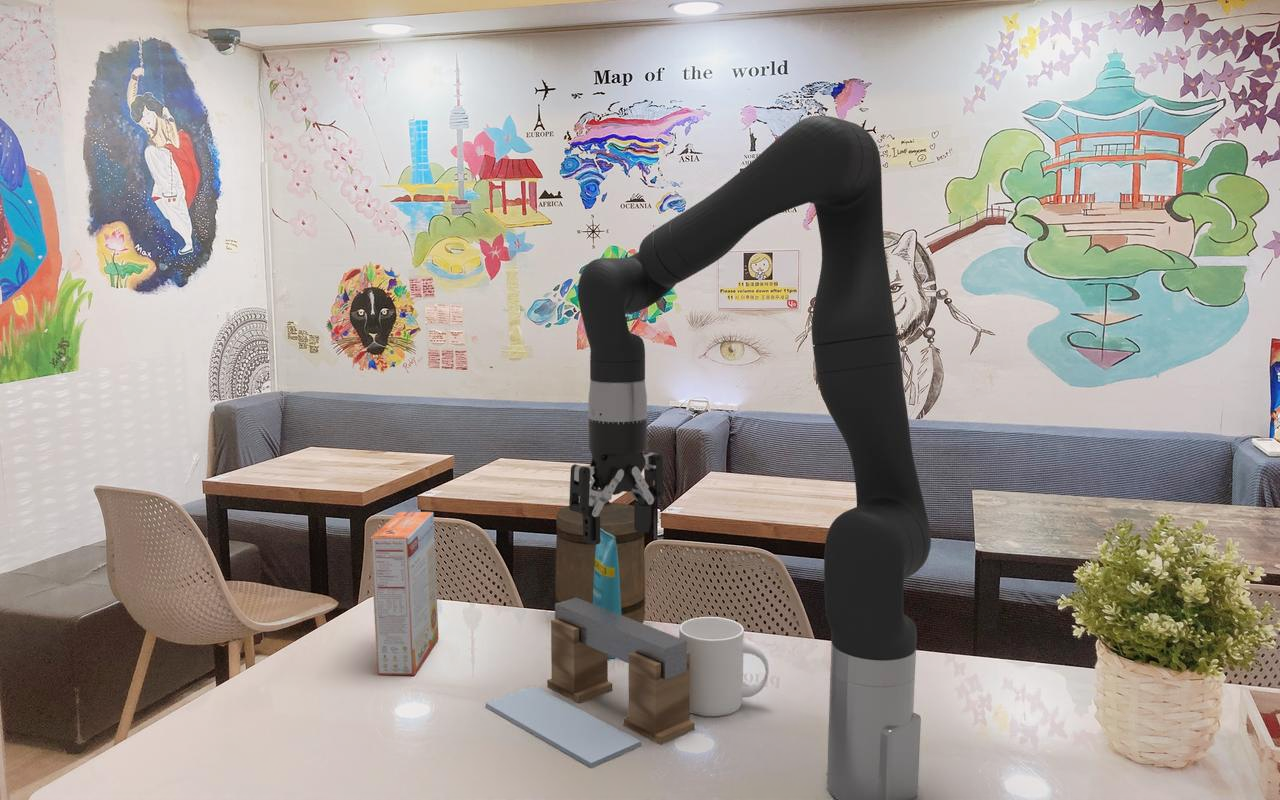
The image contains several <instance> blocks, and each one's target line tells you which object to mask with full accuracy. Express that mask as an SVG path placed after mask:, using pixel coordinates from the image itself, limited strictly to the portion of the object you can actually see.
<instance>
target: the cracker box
mask: <svg viewBox="0 0 1280 800" xmlns="http://www.w3.org/2000/svg"><path fill="white" fill-rule="evenodd" d="M434 519H435V518H434V512H433V511H399V512H397V513H396V514H395V515H393V517H392V518H391V519H389V521H387V522H386V523H385V524H384V525H383V526H382V527H380V528H379V530H377V531H376V532H375V533H374V534H373V535H371V536H370V538H369V539H370V553H371V556H370V559H371V573H372V575H371V577H372V592H373V593H372V594H373V595H372V596H373V614H374V633H375V648H376V649H375V650H376V668H377V669H376V670H377V675H378V676H379V675H381V676H416V674H417V673H418V671H419V669H420V668H421V666H422V665H423V663H424V662H425V660H426V659H427V657H428V655H430V653H431V652H432V649H433V648H434V647H435V644H436V643H437V642H438V641H439V621H438V620H439V619H438V617H439V616H438V615H439V614H438V595H437V594H438V593H437V591H438V590H437V569H436V566H437V565H436V546H435V545H436V541H435V539H436V538H435V523H434V522H435V520H434Z"/></svg>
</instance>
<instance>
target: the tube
mask: <svg viewBox="0 0 1280 800" xmlns="http://www.w3.org/2000/svg"><path fill="white" fill-rule="evenodd" d="M593 604H594V605H597V606H599V607H602V608H604V609H607V610H609V611H612V612H614V613H617V614H619V615H622V614H621V596H620V578H619V565H618V554H617V546H616V540H615V537H614V536H613V535H611V534H609V533H607V532H605V531H603V530H602V529H601V528H600V543H599V544H597V545H596V552H595V565H594V585H593ZM610 659H616V658H615V657H612V656H610V655H608V660H610Z"/></svg>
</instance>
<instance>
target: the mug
mask: <svg viewBox="0 0 1280 800" xmlns="http://www.w3.org/2000/svg"><path fill="white" fill-rule="evenodd" d="M678 627H679V632H678V633H679V634H678V635H679V636H678V638H681V639H683V640H686V641H687V652H689V653H690V707H689V713H692V714H694V715H697V716H702V717H711V718H712V717H723V716H727V715H730V714H732V713H734V712H736V711H737V710H739V709H740V707H741V706H742V704H743V698H750V697H754V696H755V695H757V694H759V693H760V692H761V691H762V690H763V689H764V688H765V687H766V684H767V682H768V678H769V673H770V672H769V670H770V669H769V667H770V666H769V662H768V661H769V660H768V658H767V656H766V654H765V652H764V651H763V650H762V649H761V648H760V647H759V646H758V645H757V644H755V643H754V642H752V641H751V640H749V639H747V638H746V637H744V636H745V635H744V634H745V631H744V630H745V629H744V627H743V625H742V624H741V623H740V622H738V621H735V620H732V619H729V618H725V617H717V616H702V617H700V616H699V617H694V618H690V619H687V620H685V621H683V622H682V623H681V624H680V625H679V626H678ZM744 654H749V655H753V656H755V657H757V658H759V660H761V662H762V664H763V666H764V668H765V672H764V673H765V674H764V677H763V679H762V680H761V681H760V682H759V683H757V684H753V685H752V684H751V685H750V684H748V683H746V682H744Z"/></svg>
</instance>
